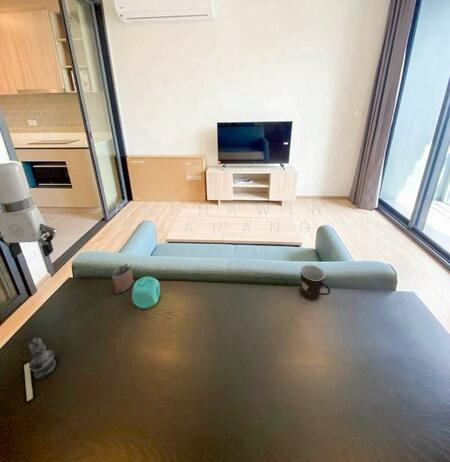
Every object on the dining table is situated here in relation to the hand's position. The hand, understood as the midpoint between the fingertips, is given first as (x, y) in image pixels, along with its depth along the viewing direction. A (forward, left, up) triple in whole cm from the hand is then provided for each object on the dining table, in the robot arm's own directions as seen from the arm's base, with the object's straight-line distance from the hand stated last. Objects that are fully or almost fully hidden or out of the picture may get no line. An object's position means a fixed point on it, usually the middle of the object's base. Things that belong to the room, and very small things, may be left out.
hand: (33, 254), depth 76 cm
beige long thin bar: (+3, -20, -28) cm, 34 cm away
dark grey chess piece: (+6, -17, -28) cm, 33 cm away
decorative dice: (+30, +6, -28) cm, 42 cm away
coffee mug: (+93, +2, -28) cm, 97 cm away
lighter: (+19, +14, -28) cm, 37 cm away
